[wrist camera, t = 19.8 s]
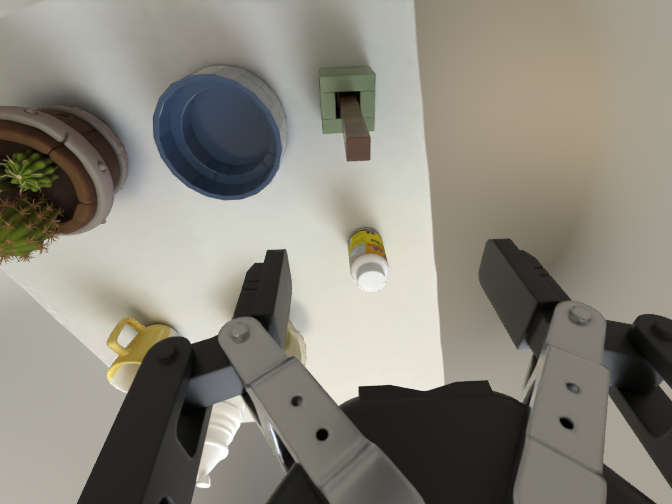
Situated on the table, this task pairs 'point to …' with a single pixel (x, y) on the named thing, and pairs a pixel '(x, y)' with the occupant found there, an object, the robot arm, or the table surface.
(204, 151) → the blue round tub
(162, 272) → the table surface
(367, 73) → the stick holder
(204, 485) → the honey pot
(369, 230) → the supplement bottle
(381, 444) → the robot arm
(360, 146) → the brown stick
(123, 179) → the flowerpot
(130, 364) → the mug
